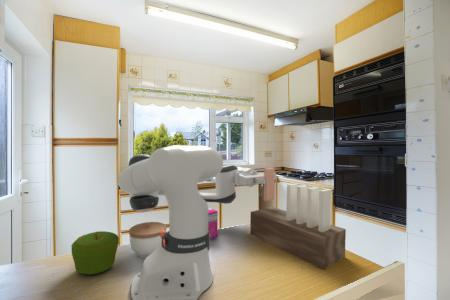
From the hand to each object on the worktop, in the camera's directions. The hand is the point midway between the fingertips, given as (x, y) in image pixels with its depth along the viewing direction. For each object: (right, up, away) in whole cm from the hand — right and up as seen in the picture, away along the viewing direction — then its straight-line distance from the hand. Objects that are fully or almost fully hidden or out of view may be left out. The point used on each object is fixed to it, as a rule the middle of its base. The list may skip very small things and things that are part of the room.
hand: (270, 181), depth 98 cm
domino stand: (+7, -24, -9) cm, 26 cm away
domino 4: (+12, -14, -16) cm, 25 cm away
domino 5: (+15, -14, -20) cm, 28 cm away
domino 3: (+9, -14, -13) cm, 21 cm away
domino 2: (+7, -14, -9) cm, 18 cm away
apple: (-60, -24, -28) cm, 71 cm away
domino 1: (-1, -8, +1) cm, 8 cm away
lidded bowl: (-48, -24, -17) cm, 56 cm away
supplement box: (-27, -23, -3) cm, 36 cm away
